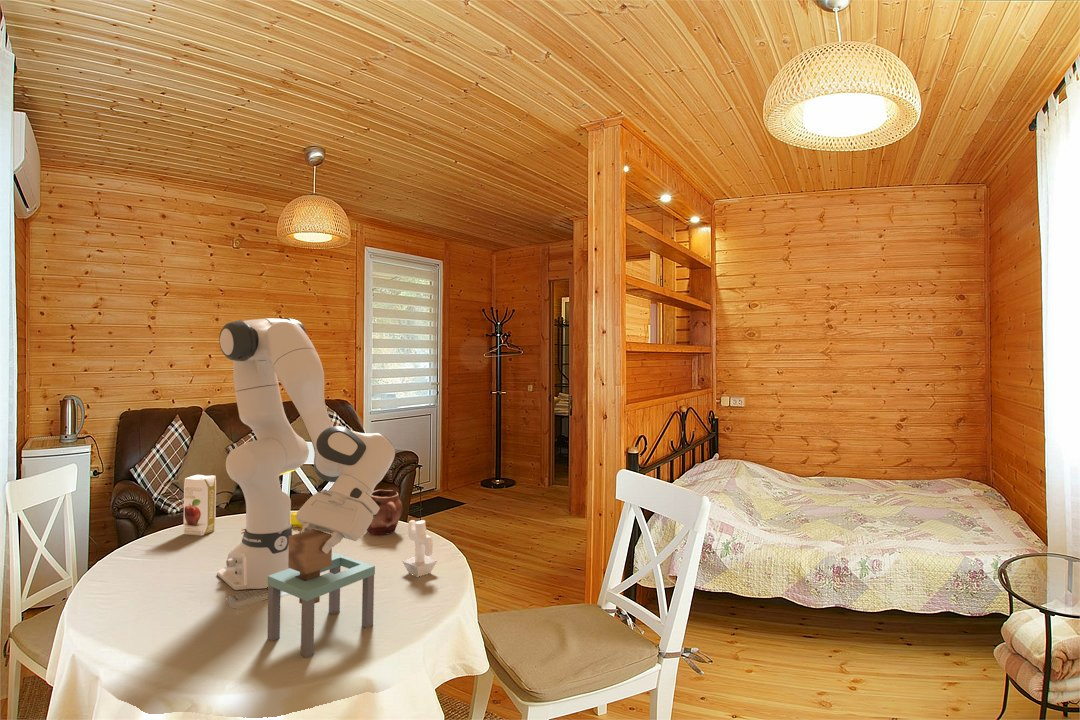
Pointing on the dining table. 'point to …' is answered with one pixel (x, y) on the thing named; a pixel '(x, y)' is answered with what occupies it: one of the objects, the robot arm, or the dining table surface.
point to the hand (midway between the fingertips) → (311, 548)
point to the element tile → (296, 521)
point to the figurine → (420, 550)
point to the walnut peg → (308, 554)
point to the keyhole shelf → (316, 588)
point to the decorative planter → (385, 512)
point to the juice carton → (199, 505)
